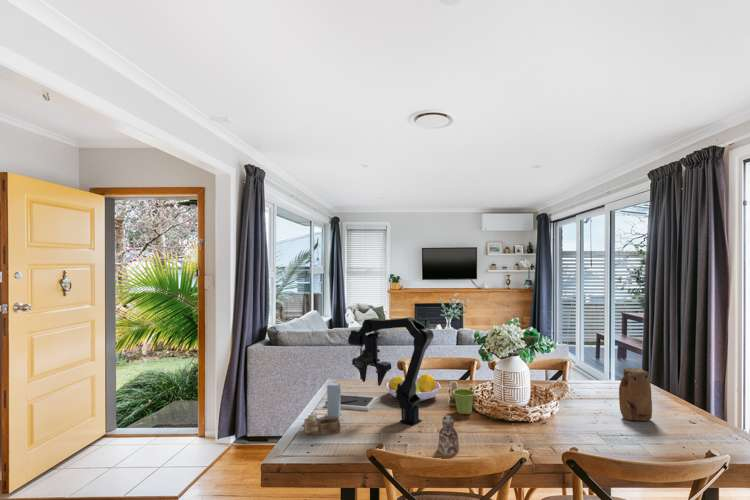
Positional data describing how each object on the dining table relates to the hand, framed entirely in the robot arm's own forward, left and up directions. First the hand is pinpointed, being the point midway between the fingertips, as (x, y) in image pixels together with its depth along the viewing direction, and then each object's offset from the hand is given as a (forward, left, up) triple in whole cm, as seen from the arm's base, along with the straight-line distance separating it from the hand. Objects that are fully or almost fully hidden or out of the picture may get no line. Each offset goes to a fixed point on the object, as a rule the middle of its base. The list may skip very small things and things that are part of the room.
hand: (371, 383), depth 178 cm
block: (-86, -67, -13) cm, 110 cm away
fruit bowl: (0, -29, -13) cm, 32 cm away
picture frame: (+17, -4, -14) cm, 22 cm away
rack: (+2, +26, -13) cm, 29 cm away
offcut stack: (+5, +29, -12) cm, 32 cm away
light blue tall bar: (+11, +12, -13) cm, 21 cm away
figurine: (-44, +8, -13) cm, 47 cm away
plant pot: (-29, -28, -13) cm, 42 cm away
